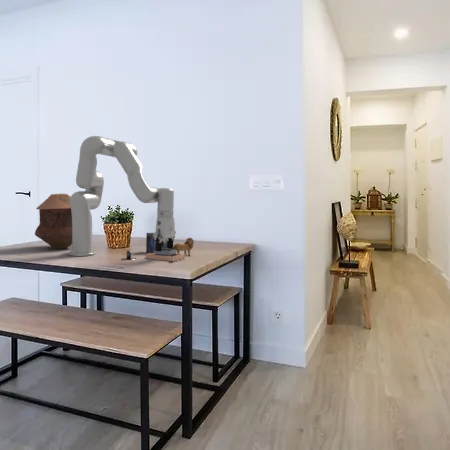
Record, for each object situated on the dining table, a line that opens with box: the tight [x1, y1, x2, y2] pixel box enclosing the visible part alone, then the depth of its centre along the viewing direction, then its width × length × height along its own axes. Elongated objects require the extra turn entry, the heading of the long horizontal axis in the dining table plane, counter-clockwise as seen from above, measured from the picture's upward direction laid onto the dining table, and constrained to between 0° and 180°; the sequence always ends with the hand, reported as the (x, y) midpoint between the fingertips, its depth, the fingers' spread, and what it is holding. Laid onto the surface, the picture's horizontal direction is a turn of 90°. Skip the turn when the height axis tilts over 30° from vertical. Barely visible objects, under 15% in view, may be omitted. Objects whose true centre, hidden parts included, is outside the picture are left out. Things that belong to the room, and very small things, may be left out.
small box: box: [145, 232, 168, 254], centre depth 213 cm, size 11×6×10 cm, turn 105°
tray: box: [145, 252, 186, 263], centre depth 194 cm, size 15×10×2 cm
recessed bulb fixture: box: [155, 248, 177, 257], centre depth 194 cm, size 6×9×4 cm, turn 64°
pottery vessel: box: [34, 193, 72, 249], centre depth 224 cm, size 26×26×30 cm
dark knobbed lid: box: [121, 250, 137, 261], centre depth 190 cm, size 7×7×4 cm
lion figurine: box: [173, 237, 195, 256], centre depth 204 cm, size 15×5×9 cm, turn 140°
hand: (164, 250), depth 194 cm, fingers open, 9 cm apart
